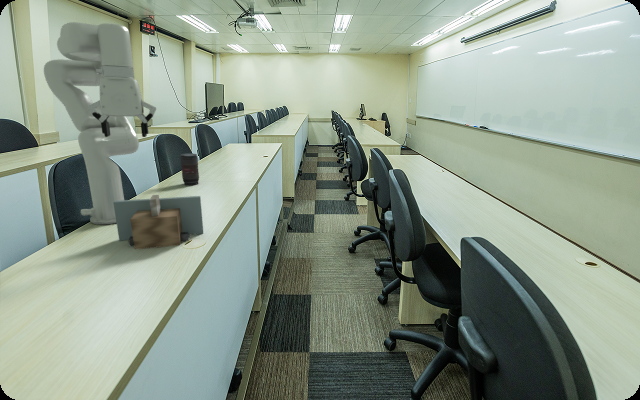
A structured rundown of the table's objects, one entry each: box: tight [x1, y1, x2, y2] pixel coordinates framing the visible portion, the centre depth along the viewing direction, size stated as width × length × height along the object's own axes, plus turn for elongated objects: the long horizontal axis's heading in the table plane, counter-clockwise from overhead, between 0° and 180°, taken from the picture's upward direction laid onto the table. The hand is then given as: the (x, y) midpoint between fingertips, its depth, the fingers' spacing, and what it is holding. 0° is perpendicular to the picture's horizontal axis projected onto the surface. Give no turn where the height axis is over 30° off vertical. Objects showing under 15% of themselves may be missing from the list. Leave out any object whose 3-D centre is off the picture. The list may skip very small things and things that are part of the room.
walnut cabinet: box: [130, 194, 182, 250], centre depth 103 cm, size 12×8×14 cm, turn 105°
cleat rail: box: [128, 232, 190, 247], centre depth 104 cm, size 16×2×2 cm, turn 105°
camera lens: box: [179, 153, 200, 186], centre depth 176 cm, size 8×8×15 cm
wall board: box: [113, 195, 204, 242], centre depth 108 cm, size 24×2×12 cm, turn 105°
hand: (126, 136), depth 102 cm, fingers open, 9 cm apart
